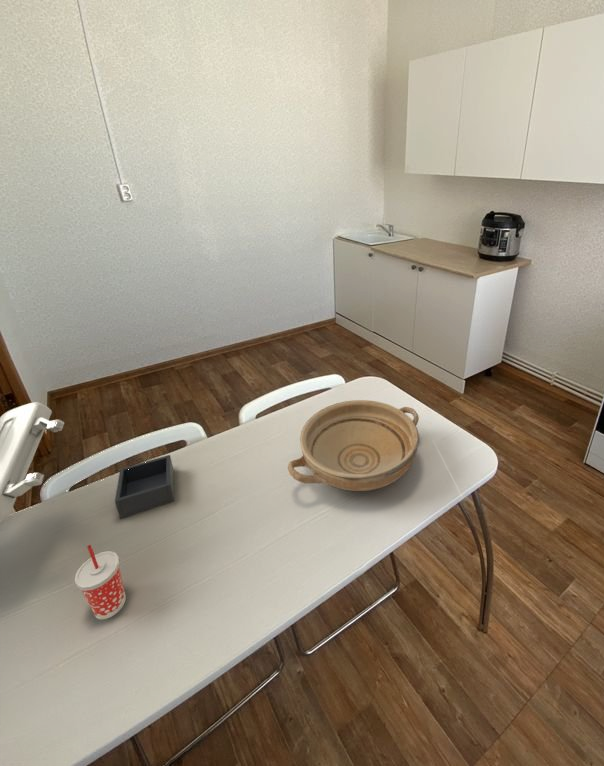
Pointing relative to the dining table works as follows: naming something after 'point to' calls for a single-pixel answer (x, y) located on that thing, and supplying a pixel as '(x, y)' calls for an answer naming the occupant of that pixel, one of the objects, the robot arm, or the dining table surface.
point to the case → (145, 486)
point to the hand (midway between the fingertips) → (51, 450)
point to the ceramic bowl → (357, 445)
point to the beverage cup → (102, 583)
